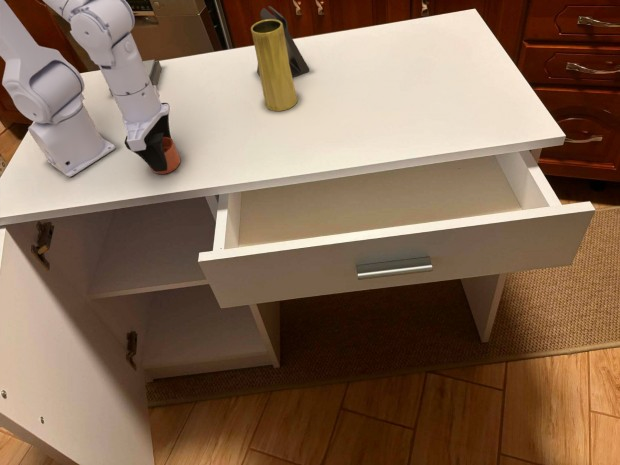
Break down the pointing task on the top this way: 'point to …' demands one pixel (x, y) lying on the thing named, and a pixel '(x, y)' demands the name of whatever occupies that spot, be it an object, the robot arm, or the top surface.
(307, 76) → the top surface
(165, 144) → the cup
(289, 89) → the vase
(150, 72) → the scale
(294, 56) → the phone stand
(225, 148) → the top surface
